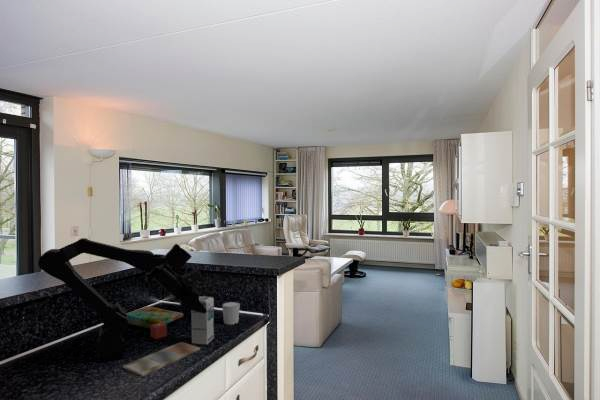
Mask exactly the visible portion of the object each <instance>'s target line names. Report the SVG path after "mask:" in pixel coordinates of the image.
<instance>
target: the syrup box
mask: <svg viewBox="0 0 600 400" xmlns="http://www.w3.org/2000/svg"><path fill="white" fill-rule="evenodd" d="M199 301H200V302H201V303H202V305H203V306H204V307H205V309H206V310H207V312H206V313H201V312H196V311H192V310H190V311H191V312H190V313H191V318H190V319H191V320H190V321H191V344H194V345H195V344H196V345H209V343H210V342H212V340H213V339H214V338H215V313H214V311H215V309H214V307H215V303H214V297H213V296H204V295H203V296H200V297H199Z"/></svg>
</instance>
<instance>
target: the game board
mask: <svg viewBox="0 0 600 400" xmlns="http://www.w3.org/2000/svg"><path fill="white" fill-rule="evenodd" d="M199 350H201V347H200V346H199V347H198V346H196V345H192V344H189V343H186V342H183V341H180V342H177V343H175V344H173V345H170V346H167V347H165V348H162V349H160V350H159V351H156V352H153V353H151V354H149V355H145V356H143V357H142V358H139V359H136V360H134V361H131V362H129V363H127V364H124V365H123V366H122V368H123V369H124V370H127V371H129V372H132V373H134V374H136V375H139V376H141V377H145V376H146V375H149V374H152V373H153V372H155V371H157V370H159V369H162V368H163V367H166V366H168V365H170V364H172V363H174V362H177V361H178V360H182V359H183V358H185V357H187V356H189V355H192V354H194V353H196V352H198V351H199Z"/></svg>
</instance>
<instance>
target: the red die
mask: <svg viewBox="0 0 600 400" xmlns="http://www.w3.org/2000/svg"><path fill="white" fill-rule="evenodd" d="M167 327H168V324H167V325H166V324H164V323H162V322H160V323H156V324H152V325H151V329H150V337H151V338H152V339H154V340H158V339H162V338H165V337H166V338H167V337H168V328H167Z"/></svg>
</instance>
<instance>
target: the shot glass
mask: <svg viewBox="0 0 600 400" xmlns="http://www.w3.org/2000/svg"><path fill="white" fill-rule="evenodd" d="M221 306H222V317H223V324H225V325H235V323H236V324H238V323H239V319H240V318H239V316H240V306H241V303H240V302H236V301H229V302H223V303H222V305H221Z"/></svg>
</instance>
